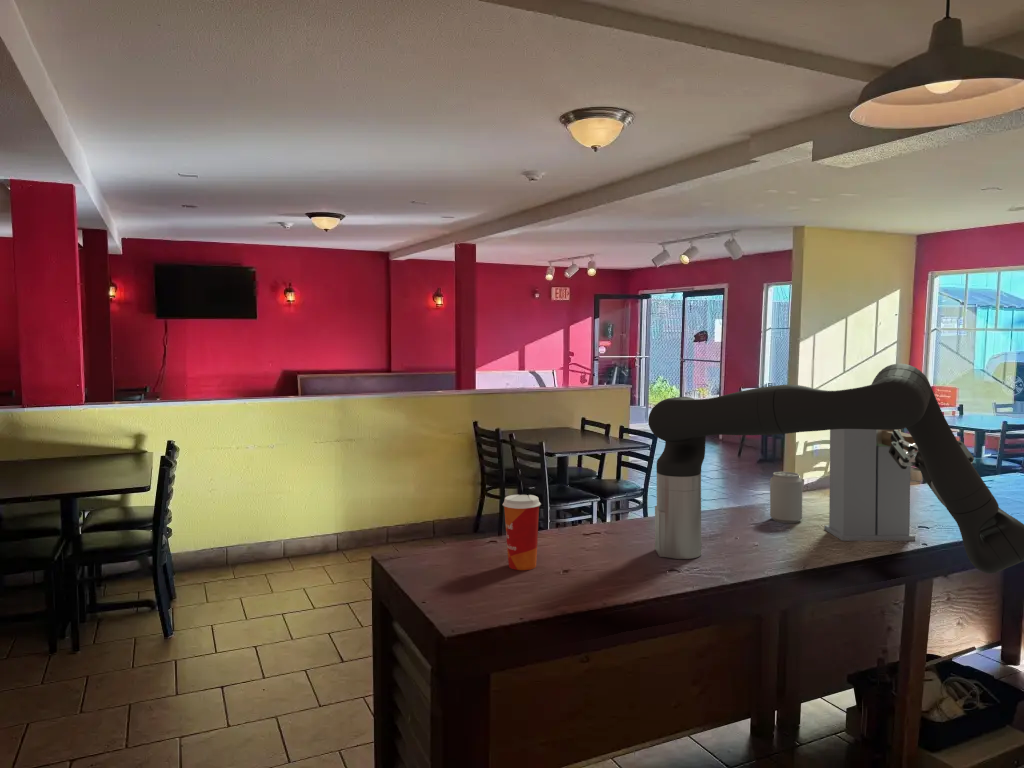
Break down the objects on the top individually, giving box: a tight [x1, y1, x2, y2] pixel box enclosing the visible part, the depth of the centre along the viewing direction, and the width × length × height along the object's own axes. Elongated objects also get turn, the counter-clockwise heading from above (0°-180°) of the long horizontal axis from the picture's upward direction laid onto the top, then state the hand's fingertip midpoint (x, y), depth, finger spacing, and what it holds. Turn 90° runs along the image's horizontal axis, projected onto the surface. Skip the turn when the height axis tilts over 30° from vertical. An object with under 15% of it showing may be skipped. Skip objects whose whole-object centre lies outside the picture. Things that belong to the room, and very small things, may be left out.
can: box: [769, 471, 803, 524], centre depth 178 cm, size 8×8×12 cm
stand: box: [824, 429, 916, 542], centre depth 162 cm, size 16×10×32 cm, turn 87°
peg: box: [876, 429, 918, 452], centre depth 158 cm, size 5×16×5 cm, turn 178°
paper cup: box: [502, 494, 542, 571], centre depth 143 cm, size 8×8×14 cm
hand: (914, 433), depth 149 cm, fingers open, 8 cm apart
